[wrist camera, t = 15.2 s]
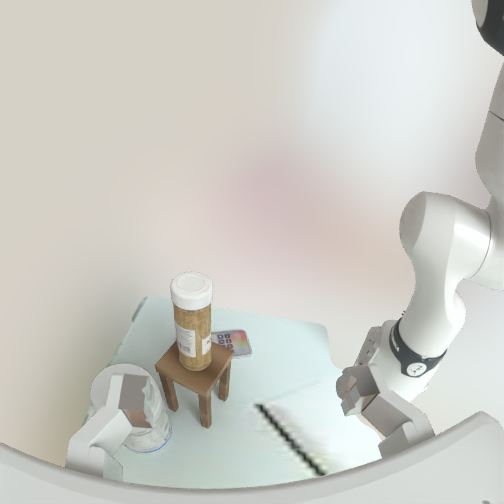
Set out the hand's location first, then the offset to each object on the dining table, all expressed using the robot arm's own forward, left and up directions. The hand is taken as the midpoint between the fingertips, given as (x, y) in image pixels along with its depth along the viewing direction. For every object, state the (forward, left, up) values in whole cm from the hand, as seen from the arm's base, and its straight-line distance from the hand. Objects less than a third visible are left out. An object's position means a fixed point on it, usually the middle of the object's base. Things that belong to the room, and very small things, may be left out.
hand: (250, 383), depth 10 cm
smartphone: (-26, -16, -37) cm, 48 cm away
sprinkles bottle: (-13, -12, -22) cm, 28 cm away
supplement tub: (-3, -16, -36) cm, 40 cm away
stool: (-13, -12, -36) cm, 40 cm away
